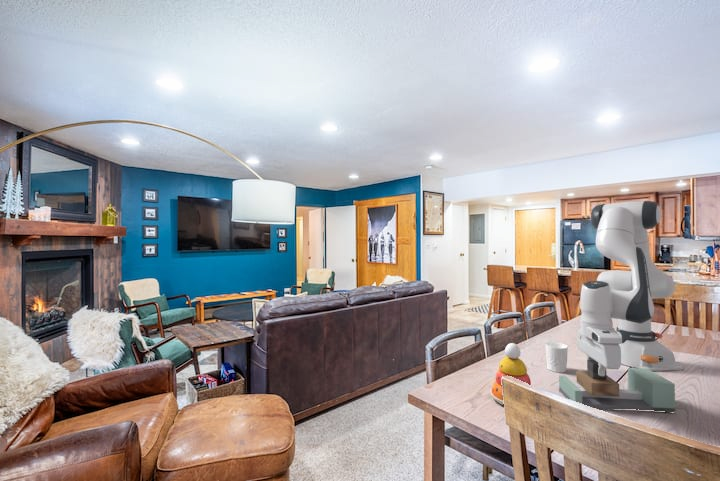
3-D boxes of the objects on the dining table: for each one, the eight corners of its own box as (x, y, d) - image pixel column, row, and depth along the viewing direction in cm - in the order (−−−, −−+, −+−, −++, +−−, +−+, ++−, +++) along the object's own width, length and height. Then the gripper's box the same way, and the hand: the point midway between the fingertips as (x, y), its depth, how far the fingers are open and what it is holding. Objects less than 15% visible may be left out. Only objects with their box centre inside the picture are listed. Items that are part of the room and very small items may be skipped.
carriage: (601, 383, 116) (601, 357, 116) (619, 396, 106) (619, 368, 106) (576, 382, 117) (576, 356, 117) (591, 395, 107) (591, 367, 107)
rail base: (647, 394, 114) (647, 368, 114) (675, 413, 103) (674, 384, 102) (559, 390, 119) (558, 365, 119) (575, 407, 107) (574, 379, 107)
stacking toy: (488, 388, 122) (487, 335, 121) (532, 393, 118) (531, 337, 117) (492, 408, 108) (491, 347, 108) (541, 414, 104) (540, 351, 104)
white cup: (560, 374, 132) (559, 349, 132) (541, 368, 139) (541, 344, 139) (572, 370, 136) (571, 346, 136) (553, 364, 143) (552, 341, 143)
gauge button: (652, 364, 111) (652, 354, 111) (662, 369, 106) (662, 359, 106) (637, 364, 111) (637, 354, 111) (646, 369, 107) (646, 359, 107)
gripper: (571, 322, 122) (571, 360, 122) (602, 339, 102) (603, 384, 102) (590, 322, 121) (591, 361, 121) (625, 340, 101) (626, 386, 101)
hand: (596, 372), depth 111 cm, fingers closed on carriage, 4 cm apart
